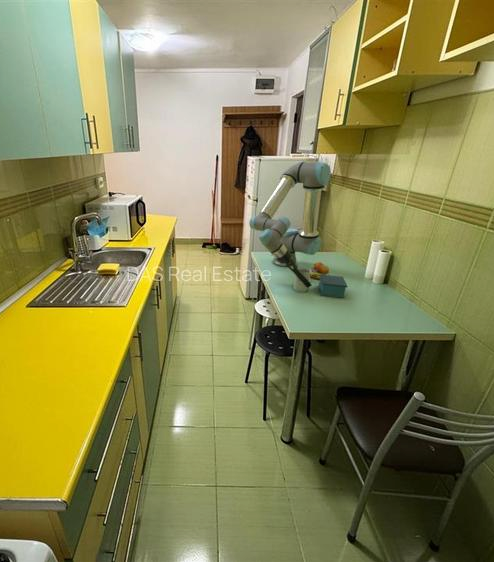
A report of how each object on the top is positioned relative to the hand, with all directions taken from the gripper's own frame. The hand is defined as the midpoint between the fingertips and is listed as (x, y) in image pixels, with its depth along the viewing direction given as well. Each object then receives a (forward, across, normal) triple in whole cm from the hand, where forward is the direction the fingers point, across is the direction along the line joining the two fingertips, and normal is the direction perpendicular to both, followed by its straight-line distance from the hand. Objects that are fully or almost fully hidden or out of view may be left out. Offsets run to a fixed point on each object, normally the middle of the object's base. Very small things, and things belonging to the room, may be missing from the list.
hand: (307, 283), depth 166 cm
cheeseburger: (+10, -19, +5) cm, 22 cm away
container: (+11, +2, +6) cm, 13 cm away
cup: (0, 0, -5) cm, 5 cm away
